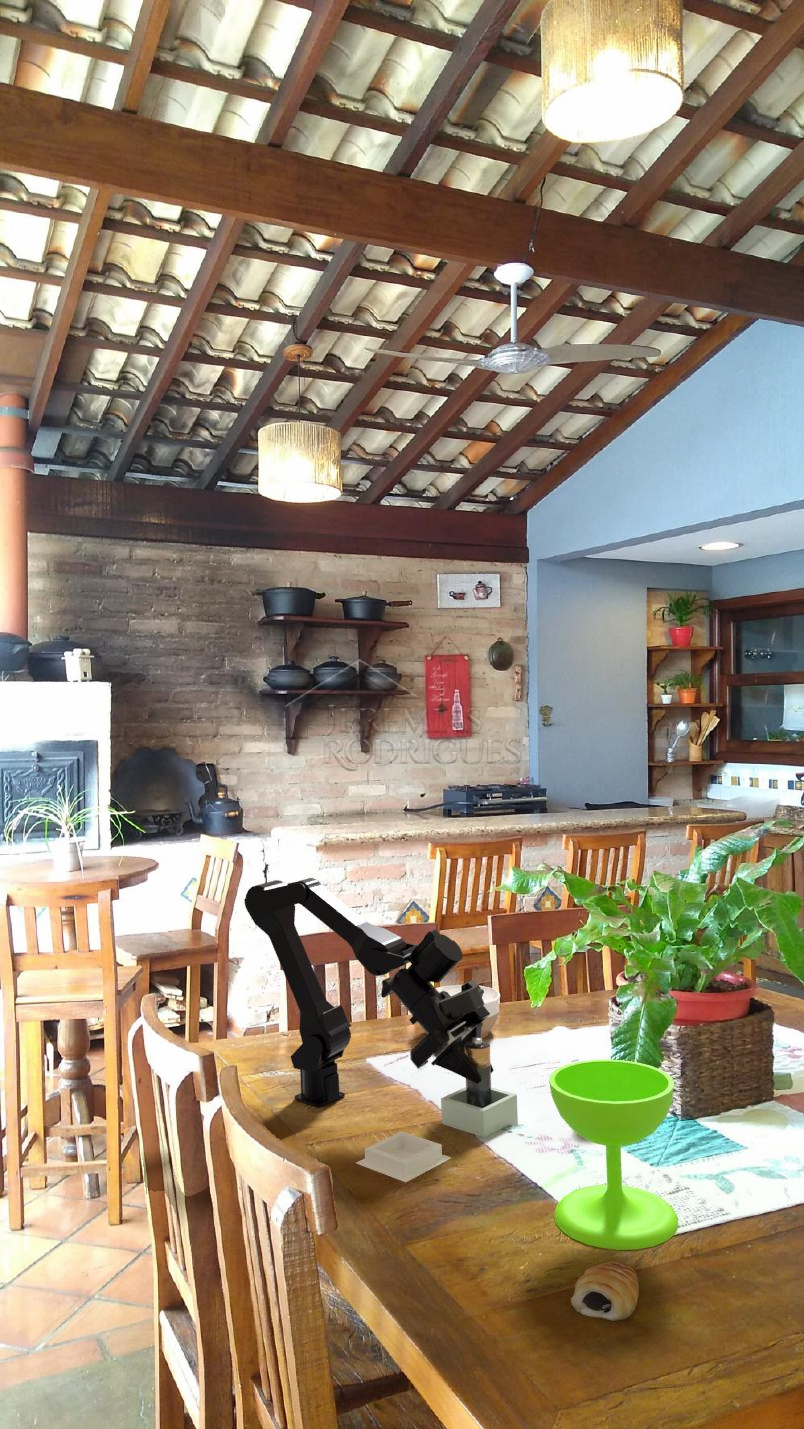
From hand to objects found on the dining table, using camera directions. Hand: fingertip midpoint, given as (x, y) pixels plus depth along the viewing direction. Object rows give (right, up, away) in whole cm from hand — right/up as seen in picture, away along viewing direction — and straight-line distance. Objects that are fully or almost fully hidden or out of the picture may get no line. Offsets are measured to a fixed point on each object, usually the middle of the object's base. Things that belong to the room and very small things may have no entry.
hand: (485, 1077), depth 165 cm
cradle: (-13, -9, -13) cm, 20 cm away
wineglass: (+15, -8, -30) cm, 34 cm away
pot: (-1, -8, +1) cm, 8 cm away
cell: (-1, -6, +1) cm, 6 cm away
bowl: (-1, -8, +49) cm, 50 cm away
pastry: (+10, -9, -48) cm, 50 cm away
